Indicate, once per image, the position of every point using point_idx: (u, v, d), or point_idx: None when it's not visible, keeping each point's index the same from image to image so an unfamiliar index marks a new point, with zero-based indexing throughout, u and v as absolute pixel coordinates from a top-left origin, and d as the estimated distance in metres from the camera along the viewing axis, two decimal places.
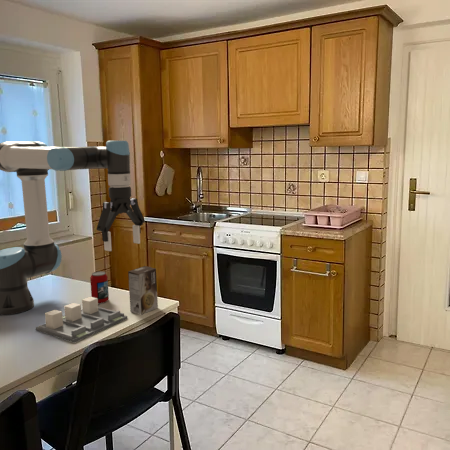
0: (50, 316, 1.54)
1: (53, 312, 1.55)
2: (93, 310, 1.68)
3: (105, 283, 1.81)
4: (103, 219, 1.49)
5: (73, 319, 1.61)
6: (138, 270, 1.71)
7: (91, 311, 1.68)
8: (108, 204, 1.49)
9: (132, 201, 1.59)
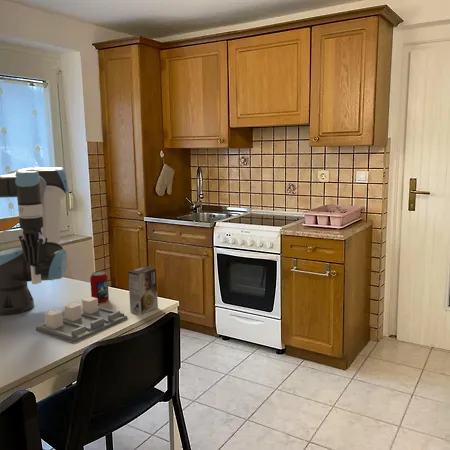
0: (50, 316, 1.54)
1: (53, 312, 1.55)
2: (93, 310, 1.68)
3: (105, 283, 1.81)
4: None
5: (73, 319, 1.61)
6: (138, 270, 1.71)
7: (91, 311, 1.68)
8: (19, 237, 1.58)
9: (40, 238, 1.53)
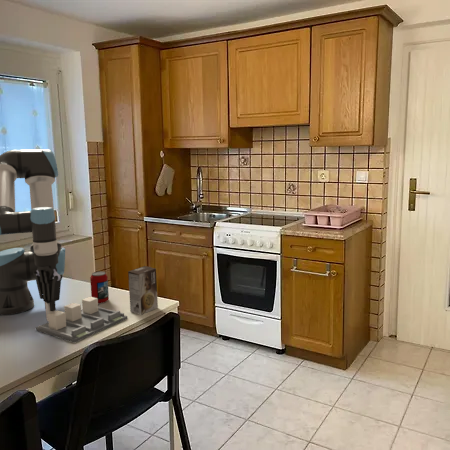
0: (53, 317, 1.53)
1: (56, 313, 1.55)
2: (93, 310, 1.68)
3: (105, 283, 1.81)
4: None
5: (73, 319, 1.61)
6: (138, 270, 1.71)
7: (91, 311, 1.68)
8: (34, 273, 1.56)
9: (55, 275, 1.51)
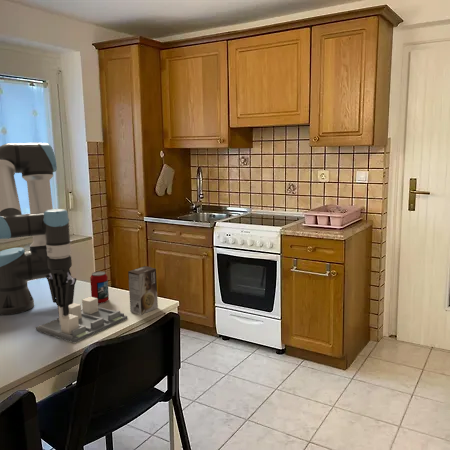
0: (66, 320, 1.49)
1: (69, 317, 1.51)
2: (93, 310, 1.68)
3: (105, 283, 1.81)
4: None
5: None
6: (138, 270, 1.71)
7: (91, 311, 1.68)
8: (46, 277, 1.53)
9: (69, 279, 1.48)
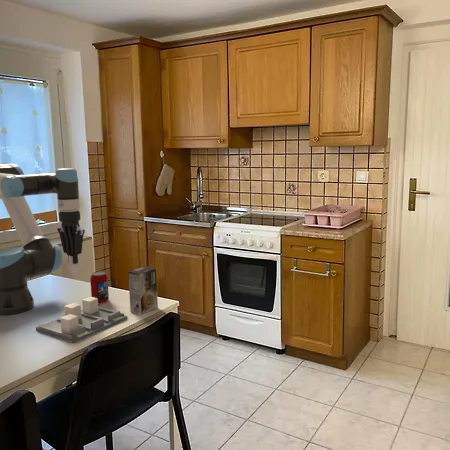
0: (66, 320, 1.49)
1: (69, 317, 1.51)
2: (93, 310, 1.68)
3: (105, 283, 1.81)
4: None
5: None
6: (138, 270, 1.71)
7: (91, 311, 1.68)
8: (58, 230, 1.71)
9: (78, 230, 1.66)
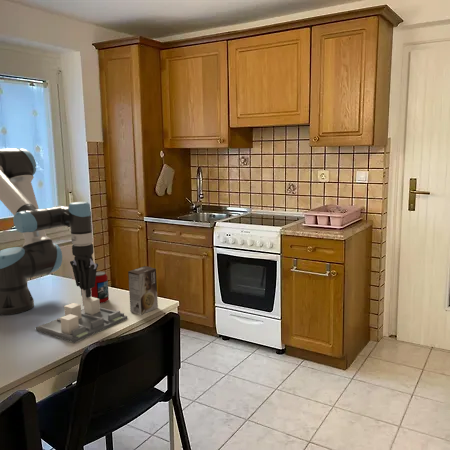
0: (66, 320, 1.49)
1: (69, 317, 1.51)
2: (95, 311, 1.68)
3: (105, 283, 1.81)
4: None
5: None
6: (138, 270, 1.71)
7: (93, 311, 1.67)
8: (70, 263, 1.70)
9: (91, 264, 1.65)
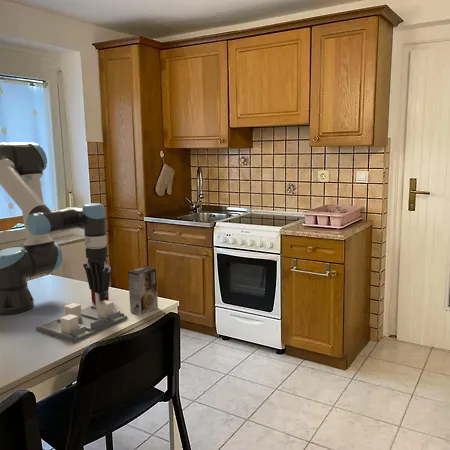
0: (66, 320, 1.49)
1: (69, 317, 1.51)
2: (108, 314, 1.64)
3: None
4: None
5: None
6: (138, 270, 1.71)
7: (106, 315, 1.63)
8: None
9: (105, 267, 1.61)
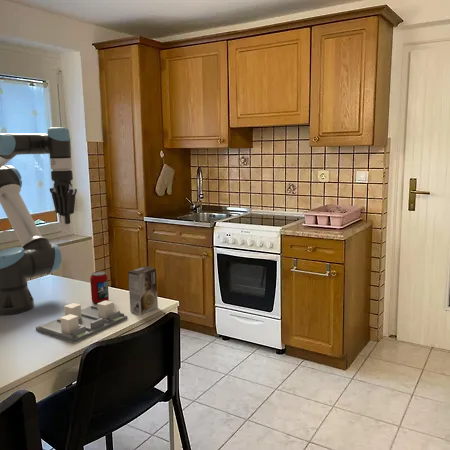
0: (66, 320, 1.49)
1: (69, 317, 1.51)
2: None
3: (105, 283, 1.81)
4: None
5: None
6: (138, 270, 1.71)
7: (107, 315, 1.63)
8: (50, 190, 1.71)
9: None
